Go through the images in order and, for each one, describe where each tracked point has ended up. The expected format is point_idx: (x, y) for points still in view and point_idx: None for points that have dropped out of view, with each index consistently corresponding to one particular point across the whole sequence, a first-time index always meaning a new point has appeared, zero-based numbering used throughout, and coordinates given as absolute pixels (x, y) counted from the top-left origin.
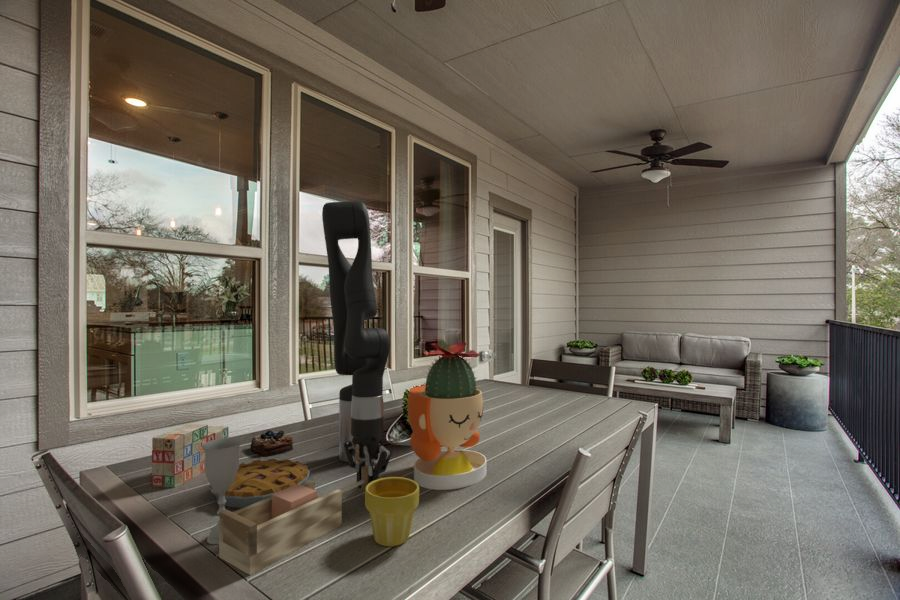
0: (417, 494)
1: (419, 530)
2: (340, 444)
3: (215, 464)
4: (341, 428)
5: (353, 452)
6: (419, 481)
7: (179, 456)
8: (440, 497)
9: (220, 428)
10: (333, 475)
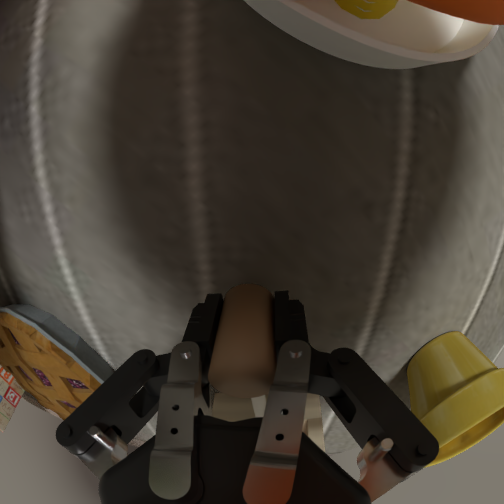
0: None
1: (476, 309)
2: None
3: None
4: None
5: (125, 422)
6: (351, 55)
7: (6, 407)
8: (470, 124)
9: None
10: (30, 236)
